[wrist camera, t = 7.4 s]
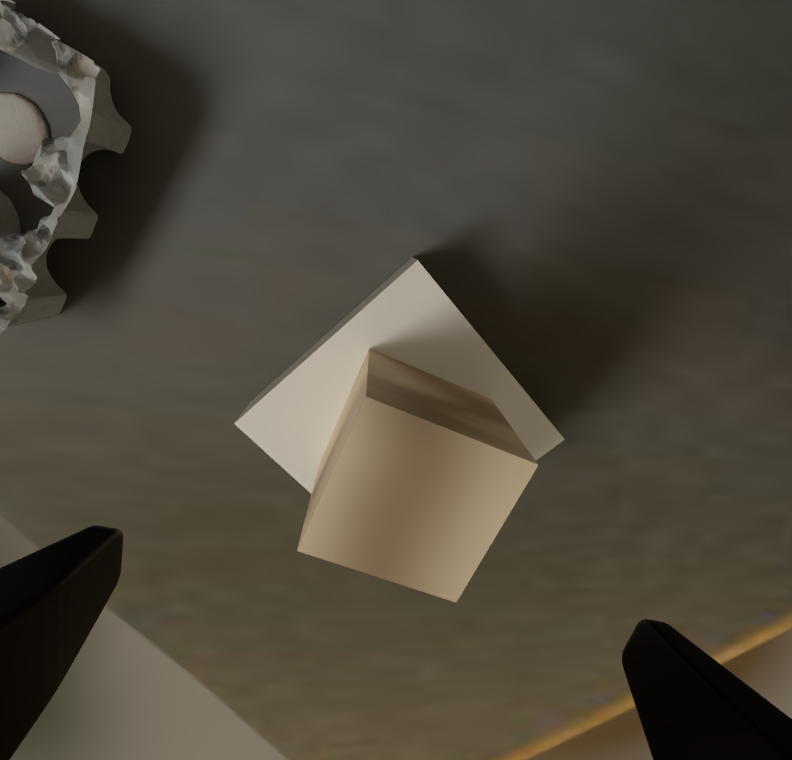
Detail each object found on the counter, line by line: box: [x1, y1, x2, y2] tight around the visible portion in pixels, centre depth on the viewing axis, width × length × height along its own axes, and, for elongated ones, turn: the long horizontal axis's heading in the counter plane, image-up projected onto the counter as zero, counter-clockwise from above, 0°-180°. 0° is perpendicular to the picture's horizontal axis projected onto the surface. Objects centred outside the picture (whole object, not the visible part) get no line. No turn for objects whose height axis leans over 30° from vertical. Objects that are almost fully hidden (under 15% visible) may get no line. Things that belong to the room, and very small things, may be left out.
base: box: [234, 257, 565, 494], centre depth 18 cm, size 9×9×2 cm
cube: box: [297, 348, 538, 602], centre depth 14 cm, size 5×5×5 cm
